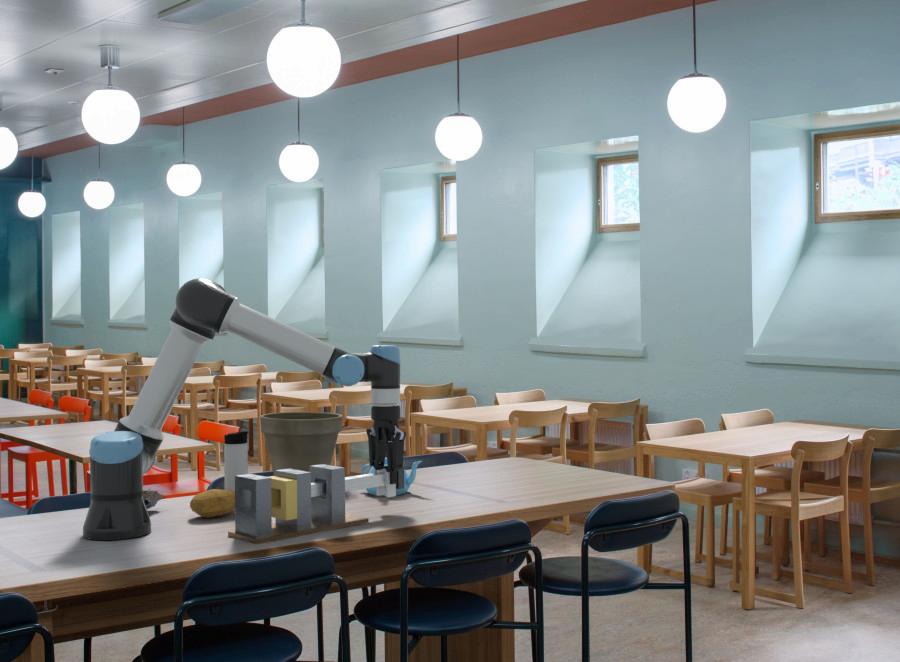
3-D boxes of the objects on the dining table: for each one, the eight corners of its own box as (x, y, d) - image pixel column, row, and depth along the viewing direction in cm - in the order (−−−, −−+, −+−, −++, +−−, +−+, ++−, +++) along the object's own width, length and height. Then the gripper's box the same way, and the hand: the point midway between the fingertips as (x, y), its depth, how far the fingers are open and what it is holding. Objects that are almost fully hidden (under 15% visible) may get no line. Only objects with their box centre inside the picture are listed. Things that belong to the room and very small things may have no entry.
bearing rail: (256, 543, 212) (255, 481, 212) (228, 535, 221) (227, 475, 220) (368, 522, 234) (368, 465, 234) (338, 515, 243) (338, 461, 243)
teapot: (354, 492, 279) (353, 456, 279) (399, 487, 286) (399, 452, 286) (376, 499, 266) (375, 462, 266) (423, 494, 274) (422, 458, 274)
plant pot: (359, 482, 295) (358, 412, 295) (308, 495, 273) (307, 419, 273) (296, 477, 307) (295, 409, 307) (243, 488, 286) (242, 416, 286)
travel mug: (243, 506, 257) (242, 432, 257) (220, 505, 259) (220, 432, 258) (252, 502, 263) (252, 429, 263) (230, 501, 265) (229, 429, 265)
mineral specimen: (132, 530, 252) (154, 523, 246) (109, 513, 248) (131, 505, 243) (149, 500, 259) (171, 493, 253) (126, 483, 255) (148, 475, 249)
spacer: (286, 520, 219) (285, 481, 219) (264, 515, 226) (264, 477, 226) (297, 518, 221) (296, 479, 221) (275, 513, 228) (275, 475, 228)
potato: (185, 516, 245) (185, 489, 245) (234, 510, 251) (234, 484, 251) (195, 522, 237) (194, 494, 237) (245, 516, 243) (244, 489, 243)
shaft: (291, 507, 222) (291, 483, 222) (277, 504, 226) (277, 480, 226) (404, 488, 246) (404, 466, 246) (390, 486, 250) (390, 464, 250)
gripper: (417, 405, 243) (417, 497, 243) (377, 402, 254) (377, 490, 254) (394, 407, 237) (395, 501, 237) (354, 404, 249) (355, 493, 249)
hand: (386, 495), depth 246 cm, fingers closed on shaft, 3 cm apart
